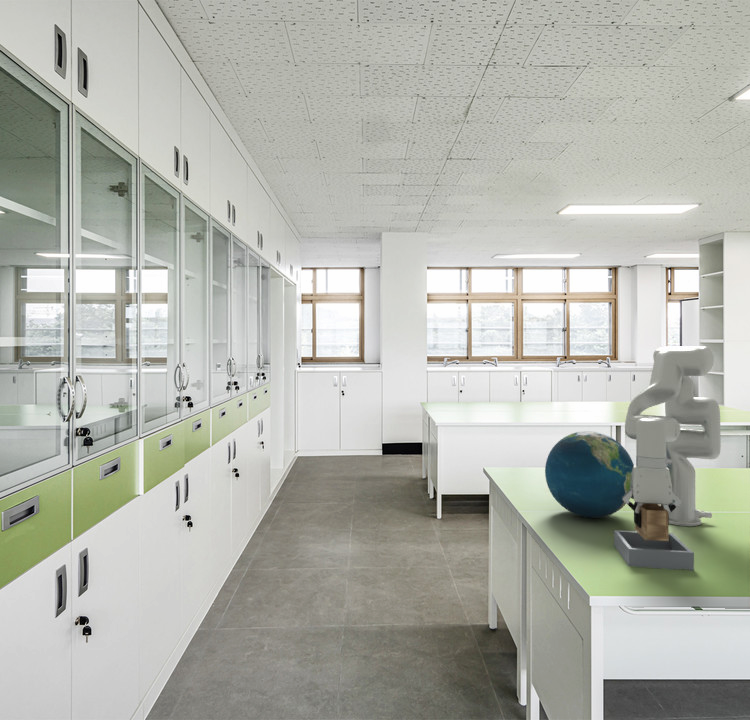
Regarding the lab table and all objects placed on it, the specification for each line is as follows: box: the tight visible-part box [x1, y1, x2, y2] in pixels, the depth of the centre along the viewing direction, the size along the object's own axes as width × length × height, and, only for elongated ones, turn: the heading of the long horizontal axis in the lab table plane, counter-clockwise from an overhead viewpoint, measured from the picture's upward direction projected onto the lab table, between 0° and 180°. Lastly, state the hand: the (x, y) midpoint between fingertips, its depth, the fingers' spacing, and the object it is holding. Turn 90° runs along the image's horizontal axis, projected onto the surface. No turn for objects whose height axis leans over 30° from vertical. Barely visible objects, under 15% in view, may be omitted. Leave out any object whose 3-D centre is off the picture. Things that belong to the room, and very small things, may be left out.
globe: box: [544, 430, 635, 519], centre depth 190 cm, size 30×30×30 cm
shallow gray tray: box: [613, 529, 695, 571], centre depth 151 cm, size 16×16×5 cm
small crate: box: [634, 504, 670, 541], centre depth 151 cm, size 6×9×8 cm, turn 170°
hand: (651, 526), depth 151 cm, fingers closed on small crate, 6 cm apart
